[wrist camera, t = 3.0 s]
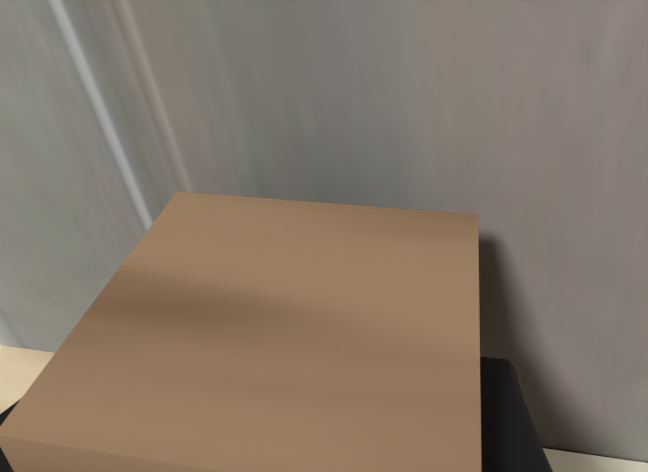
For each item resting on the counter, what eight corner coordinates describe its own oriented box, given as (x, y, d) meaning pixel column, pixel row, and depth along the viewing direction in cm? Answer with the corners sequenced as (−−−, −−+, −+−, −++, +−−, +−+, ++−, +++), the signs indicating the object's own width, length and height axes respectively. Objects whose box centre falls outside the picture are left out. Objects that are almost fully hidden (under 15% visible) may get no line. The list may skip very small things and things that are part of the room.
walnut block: (450, 421, 12) (439, 715, 8) (216, 389, 13) (106, 642, 9) (478, 214, 10) (481, 512, 6) (177, 191, 10) (-6, 434, 6)
